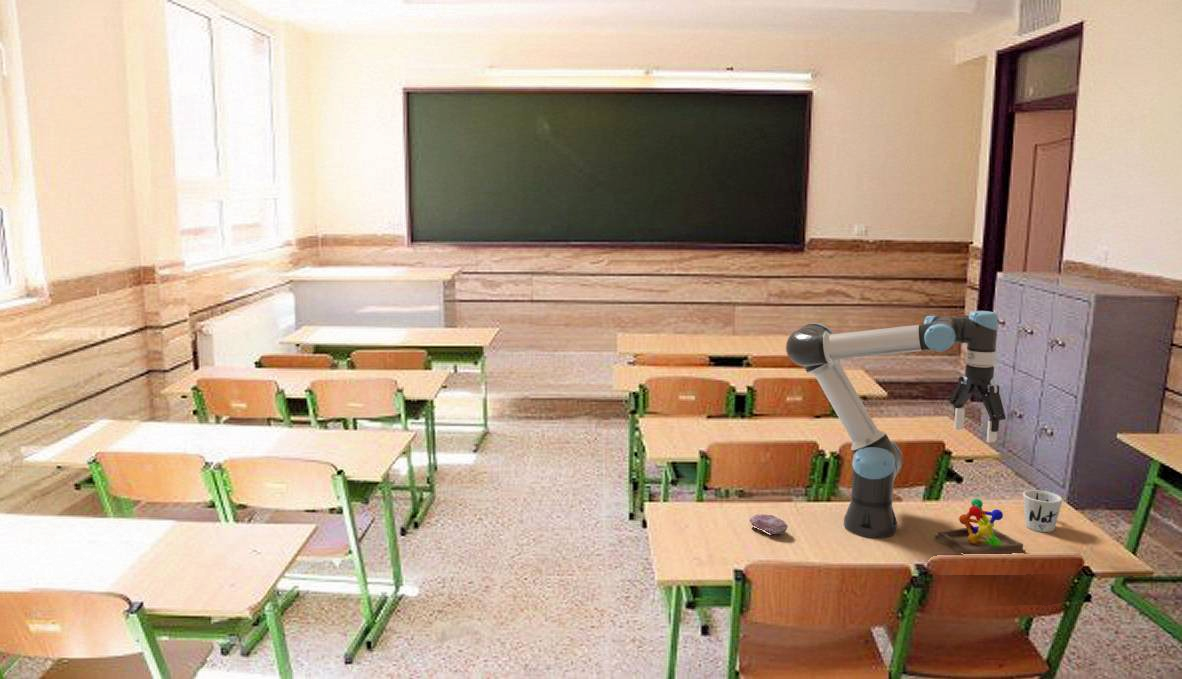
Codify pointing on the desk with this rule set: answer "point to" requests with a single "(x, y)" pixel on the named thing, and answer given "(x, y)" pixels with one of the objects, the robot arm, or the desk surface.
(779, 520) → the fossil
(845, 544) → the desk surface
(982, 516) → the molecular model
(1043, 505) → the mug
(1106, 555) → the desk surface
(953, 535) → the base
